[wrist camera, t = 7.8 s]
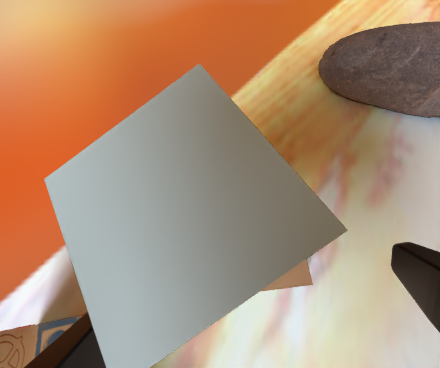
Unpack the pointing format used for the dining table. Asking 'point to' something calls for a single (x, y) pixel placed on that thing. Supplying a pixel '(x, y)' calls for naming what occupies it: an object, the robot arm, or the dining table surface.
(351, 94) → the perforated stone tool
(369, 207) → the dining table surface
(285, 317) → the dining table surface
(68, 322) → the stack of blocks
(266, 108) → the dining table surface
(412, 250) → the robot arm
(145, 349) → the column
